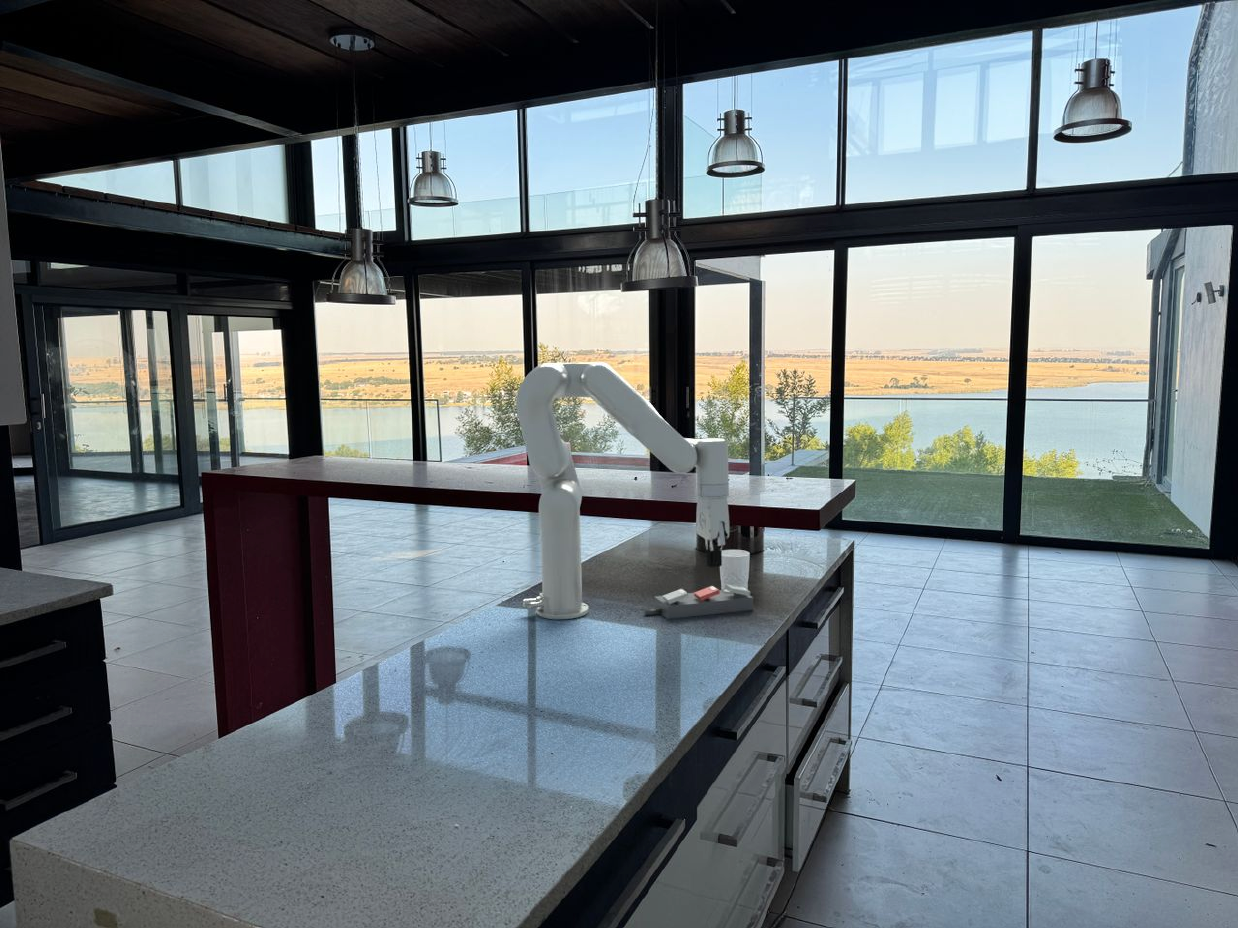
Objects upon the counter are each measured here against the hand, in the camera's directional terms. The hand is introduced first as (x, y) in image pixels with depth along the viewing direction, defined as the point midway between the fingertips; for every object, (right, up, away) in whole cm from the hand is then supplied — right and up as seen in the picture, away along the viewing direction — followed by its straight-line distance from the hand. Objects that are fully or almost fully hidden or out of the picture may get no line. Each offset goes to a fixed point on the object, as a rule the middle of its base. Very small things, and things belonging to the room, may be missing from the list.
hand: (714, 565), depth 205 cm
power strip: (-4, -11, +2) cm, 12 cm away
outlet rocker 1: (-9, -7, -2) cm, 12 cm away
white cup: (+7, -9, +19) cm, 22 cm away
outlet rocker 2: (-2, -7, 0) cm, 7 cm away
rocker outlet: (+6, -6, +3) cm, 9 cm away
